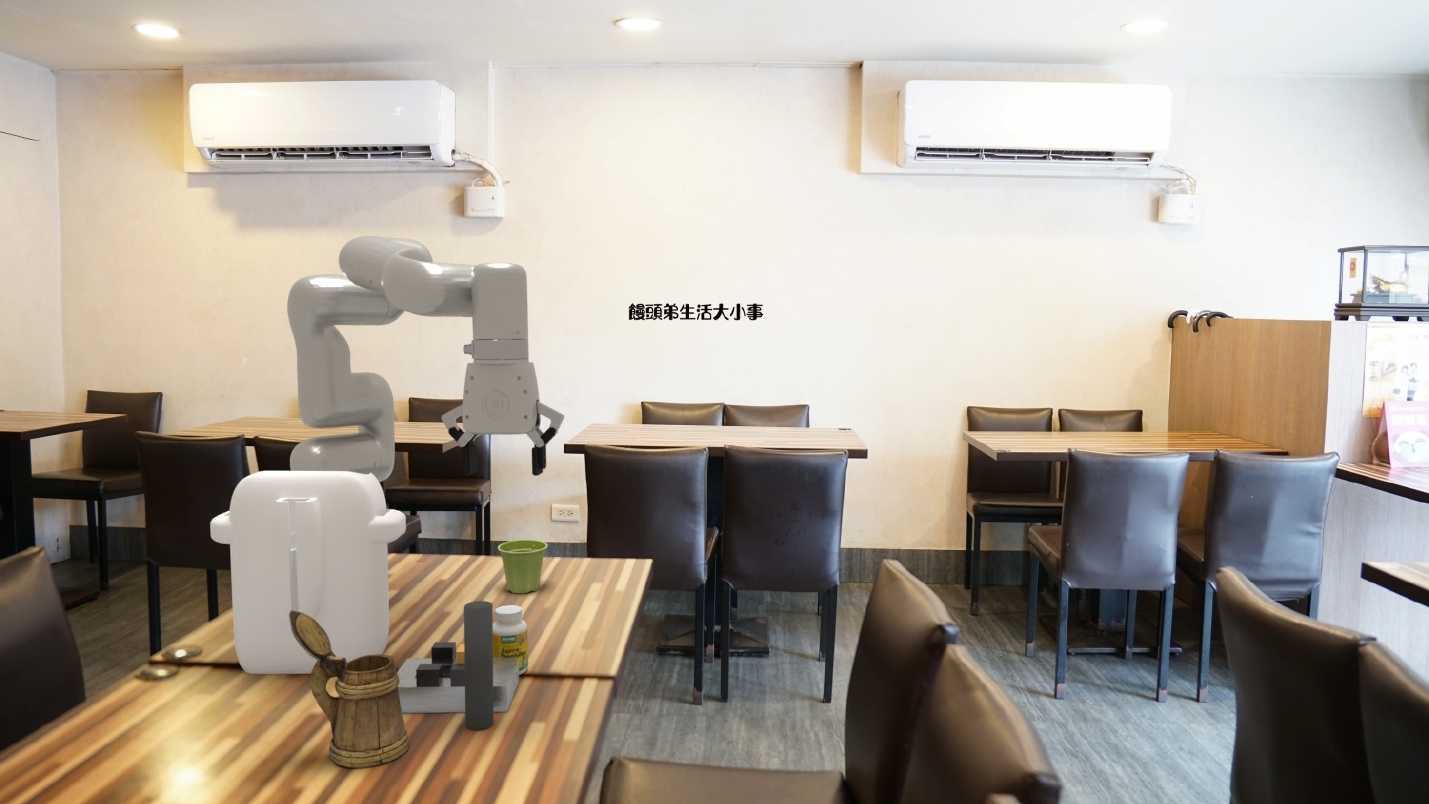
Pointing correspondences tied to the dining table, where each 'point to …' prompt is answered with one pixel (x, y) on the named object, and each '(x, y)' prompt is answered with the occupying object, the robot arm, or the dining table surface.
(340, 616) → the toaster
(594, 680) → the dining table surface
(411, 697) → the breaker panel
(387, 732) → the wooden mug
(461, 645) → the block
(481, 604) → the post
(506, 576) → the plant pot
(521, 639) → the supplement bottle
